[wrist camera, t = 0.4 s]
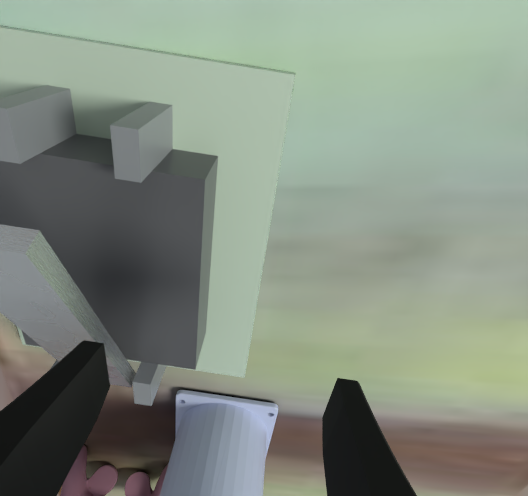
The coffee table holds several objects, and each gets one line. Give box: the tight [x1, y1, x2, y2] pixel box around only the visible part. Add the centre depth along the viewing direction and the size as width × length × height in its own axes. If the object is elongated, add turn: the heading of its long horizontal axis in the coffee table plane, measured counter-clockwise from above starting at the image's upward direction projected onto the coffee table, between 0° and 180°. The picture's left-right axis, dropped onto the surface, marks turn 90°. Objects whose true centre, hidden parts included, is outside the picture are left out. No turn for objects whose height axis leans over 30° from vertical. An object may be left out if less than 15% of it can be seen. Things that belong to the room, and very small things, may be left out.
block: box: [0, 224, 136, 387], centre depth 15 cm, size 14×3×1 cm, turn 173°
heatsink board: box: [0, 26, 295, 406], centre depth 19 cm, size 20×16×5 cm
